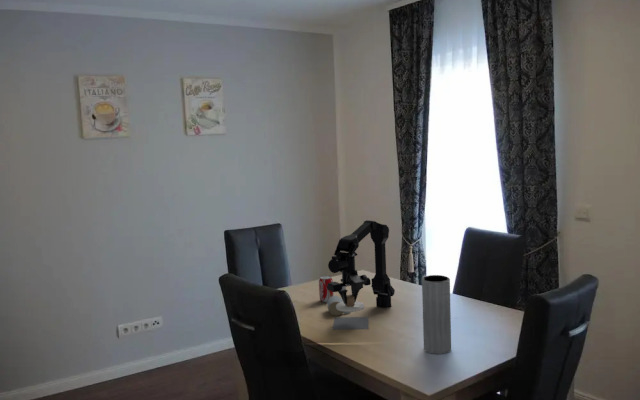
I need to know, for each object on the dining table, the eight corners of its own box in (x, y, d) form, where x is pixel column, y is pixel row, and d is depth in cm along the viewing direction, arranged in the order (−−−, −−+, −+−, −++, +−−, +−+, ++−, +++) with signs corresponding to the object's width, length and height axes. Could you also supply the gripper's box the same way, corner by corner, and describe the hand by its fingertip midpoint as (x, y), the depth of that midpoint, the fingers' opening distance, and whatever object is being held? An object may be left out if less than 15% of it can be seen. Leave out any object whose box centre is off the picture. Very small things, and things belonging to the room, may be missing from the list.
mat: (368, 318, 236) (368, 316, 236) (368, 330, 221) (368, 328, 221) (334, 319, 237) (334, 317, 237) (332, 331, 223) (332, 329, 222)
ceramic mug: (328, 317, 240) (328, 301, 239) (327, 311, 248) (326, 295, 247) (352, 316, 240) (351, 300, 239) (350, 310, 248) (349, 294, 248)
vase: (431, 342, 206) (430, 273, 203) (455, 347, 200) (454, 277, 197) (418, 350, 198) (416, 279, 195) (443, 356, 192) (442, 283, 189)
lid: (364, 302, 234) (363, 291, 233) (364, 311, 222) (363, 300, 221) (336, 303, 235) (336, 292, 234) (335, 312, 223) (334, 300, 222)
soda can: (332, 303, 260) (331, 279, 259) (318, 302, 262) (317, 279, 261) (335, 298, 267) (334, 275, 266) (321, 298, 269) (320, 275, 267)
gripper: (339, 275, 215) (341, 312, 217) (377, 267, 224) (378, 303, 226) (325, 269, 224) (327, 305, 226) (362, 263, 234) (363, 297, 235)
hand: (349, 303), depth 228 cm, fingers closed on lid, 4 cm apart
